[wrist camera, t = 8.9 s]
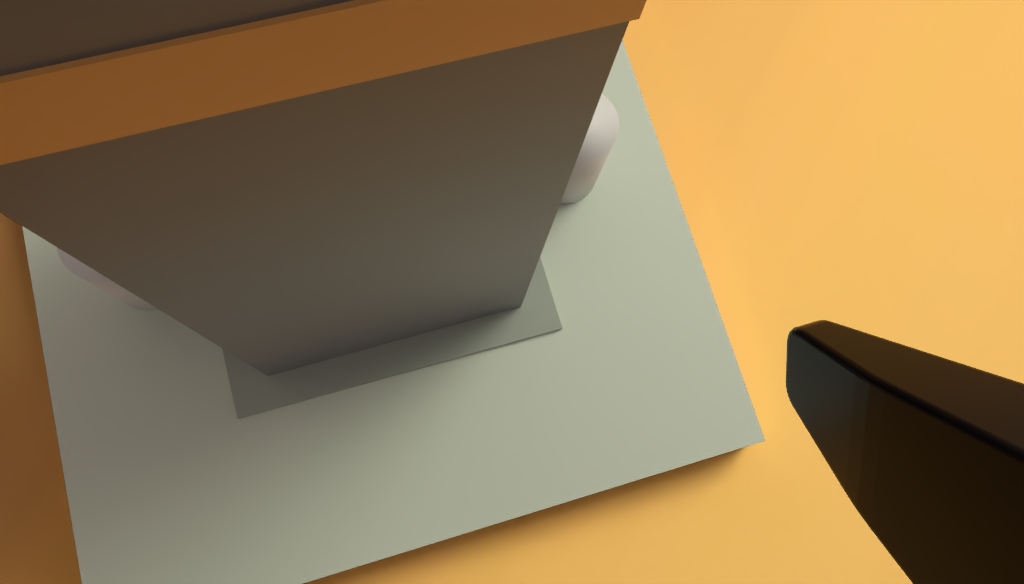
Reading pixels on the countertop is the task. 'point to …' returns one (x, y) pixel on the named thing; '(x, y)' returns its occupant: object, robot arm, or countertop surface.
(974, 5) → the countertop surface
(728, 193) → the countertop surface
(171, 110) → the plug block
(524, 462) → the board
